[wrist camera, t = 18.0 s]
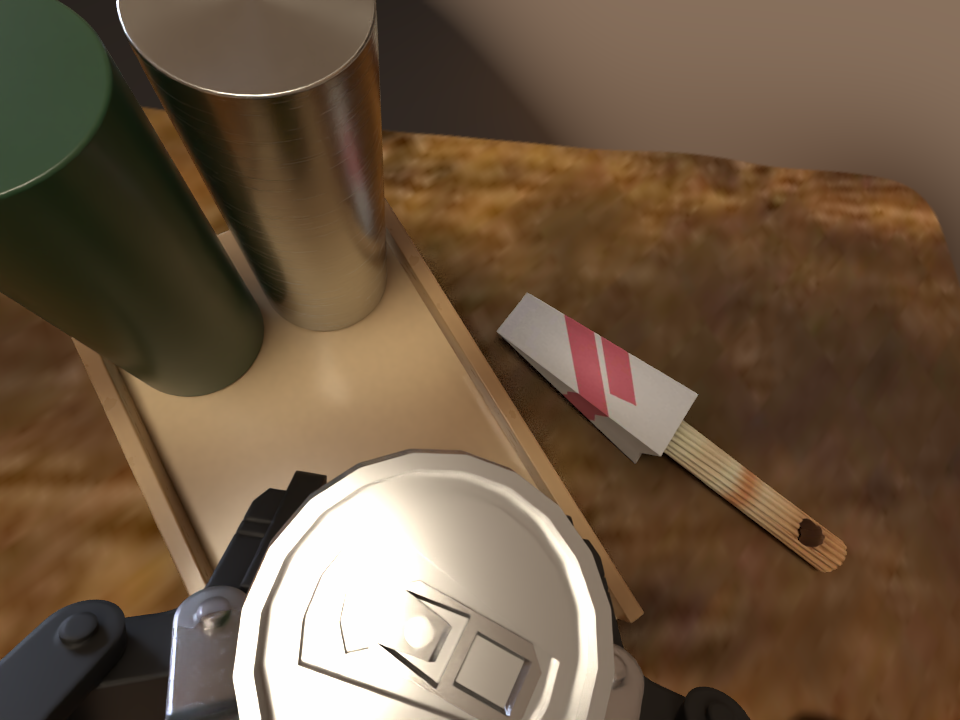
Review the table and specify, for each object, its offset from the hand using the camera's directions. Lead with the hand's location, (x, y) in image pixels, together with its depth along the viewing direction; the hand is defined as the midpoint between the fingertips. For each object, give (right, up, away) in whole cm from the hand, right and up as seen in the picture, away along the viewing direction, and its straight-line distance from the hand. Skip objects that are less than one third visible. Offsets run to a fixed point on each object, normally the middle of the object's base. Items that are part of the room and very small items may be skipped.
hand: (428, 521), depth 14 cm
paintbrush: (+11, 0, +16) cm, 19 cm away
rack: (-5, -1, +13) cm, 14 cm away
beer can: (-1, -3, +5) cm, 6 cm away
